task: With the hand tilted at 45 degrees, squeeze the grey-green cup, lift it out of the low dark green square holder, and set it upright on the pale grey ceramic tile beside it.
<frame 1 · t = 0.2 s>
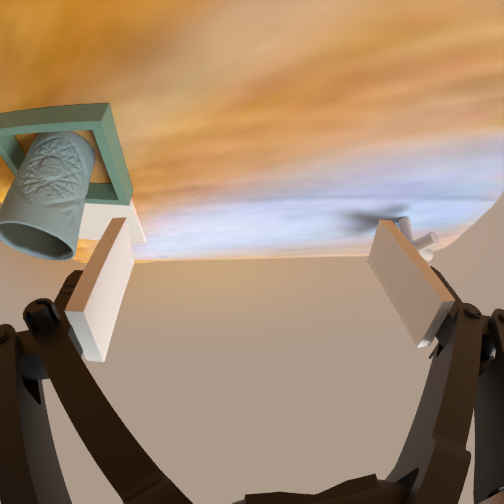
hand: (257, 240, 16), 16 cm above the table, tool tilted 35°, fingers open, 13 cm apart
pipe connector: (404, 218, 45), on the table
ceramic tile: (99, 218, 47), on the table
square holder: (65, 152, 32), on the table
grey-green cup: (65, 151, 32), resting in square holder
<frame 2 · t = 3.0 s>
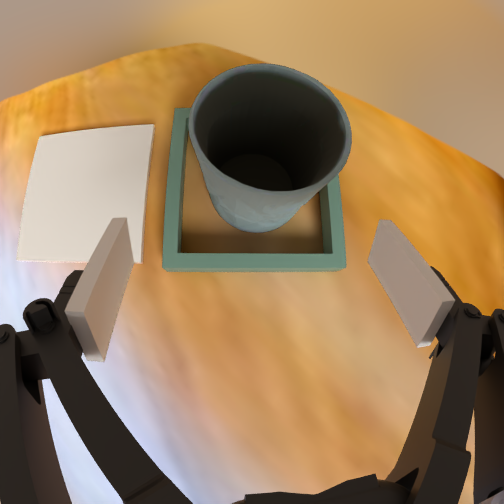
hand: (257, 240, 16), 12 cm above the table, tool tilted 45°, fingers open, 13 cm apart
ceramic tile: (82, 192, 28), on the table
square holder: (252, 190, 30), on the table
grey-green cup: (252, 191, 30), resting in square holder
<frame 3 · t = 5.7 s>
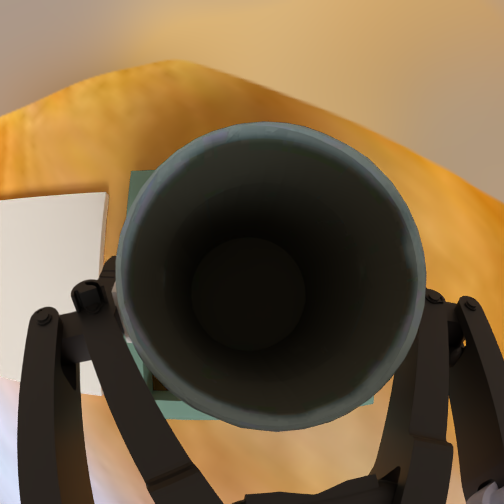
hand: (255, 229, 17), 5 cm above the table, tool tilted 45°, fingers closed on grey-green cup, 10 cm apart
ceramic tile: (23, 289, 19), on the table
square holder: (248, 294, 21), on the table
grey-green cup: (248, 294, 21), resting in square holder, touching gripper
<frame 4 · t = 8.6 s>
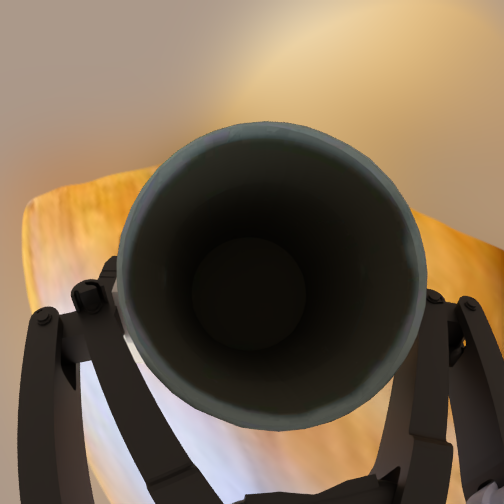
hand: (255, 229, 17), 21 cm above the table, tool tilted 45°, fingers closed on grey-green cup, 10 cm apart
grey-green cup: (248, 294, 21), point 16 cm above the table, touching gripper
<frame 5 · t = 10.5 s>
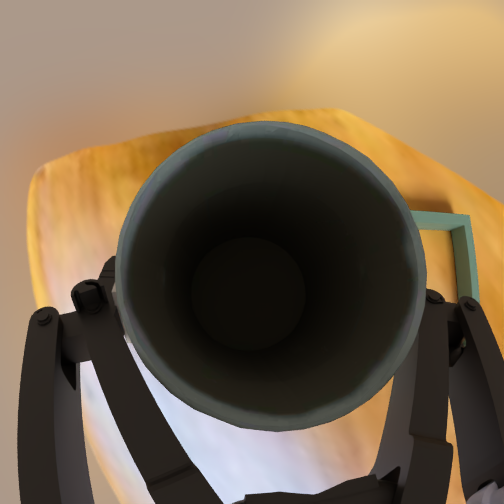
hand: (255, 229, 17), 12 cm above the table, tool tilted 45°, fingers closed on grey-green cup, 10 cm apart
square holder: (413, 290, 29), on the table
grey-green cup: (248, 294, 21), point 7 cm above the table, touching gripper
when the fingers open (7 cm above the table, at t = 11.9 s): grey-green cup drops 1 cm, resting on ceramic tile.
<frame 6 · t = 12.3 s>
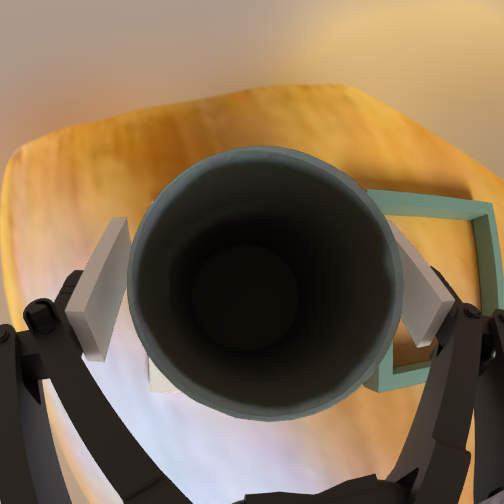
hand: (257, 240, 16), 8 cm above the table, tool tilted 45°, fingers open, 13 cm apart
ceramic tile: (245, 296, 23), on the table
square holder: (435, 287, 25), on the table
grey-green cup: (245, 298, 22), point 1 cm above the table, touching ceramic tile
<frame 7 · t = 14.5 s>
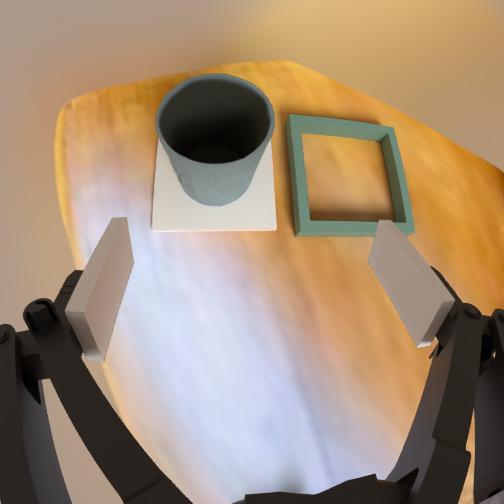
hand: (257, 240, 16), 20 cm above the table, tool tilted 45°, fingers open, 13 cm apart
ceramic tile: (214, 174, 37), on the table
square holder: (347, 178, 39), on the table
grey-green cup: (213, 174, 37), point 1 cm above the table, touching ceramic tile
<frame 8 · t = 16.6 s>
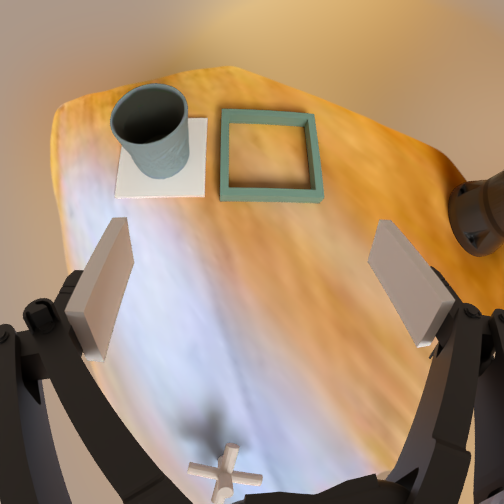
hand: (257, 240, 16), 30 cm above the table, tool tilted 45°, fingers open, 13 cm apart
pipe connector: (223, 459, 40), on the table
ceramic tile: (162, 156, 48), on the table
square holder: (268, 157, 50), on the table
grey-green cup: (161, 156, 47), point 1 cm above the table, touching ceramic tile
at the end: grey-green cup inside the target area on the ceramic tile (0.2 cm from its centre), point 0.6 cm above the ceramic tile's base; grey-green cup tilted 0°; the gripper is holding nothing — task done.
